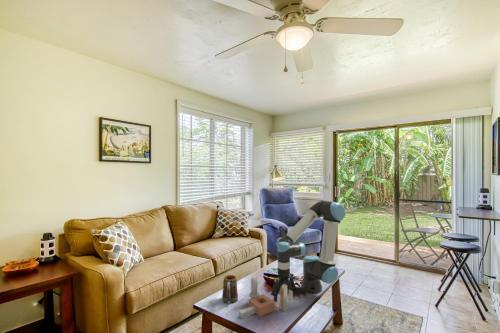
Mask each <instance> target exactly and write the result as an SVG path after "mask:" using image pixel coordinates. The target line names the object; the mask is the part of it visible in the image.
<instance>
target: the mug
mask: <svg viewBox="0 0 500 333" xmlns="http://www.w3.org/2000/svg"><path fill="white" fill-rule="evenodd" d="M222 284H223V285H222V296H221V300H222V302H223V303H225V304H227V305H231V304H235V303H237V301H238V300H239V299H238V298H239V295H238V281H237V277H236V275H234V274H227V275H225V276H224V277H223V281H222Z"/></svg>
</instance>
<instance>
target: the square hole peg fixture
mask: <svg viewBox="0 0 500 333" xmlns="http://www.w3.org/2000/svg"><path fill="white" fill-rule="evenodd" d="M250 281H251V282H250V283H251V284H250V286H251V287H250V290H251V291H250V292H249V297H250V298H249V299H248V307H246V308H243V309H241V310H239V312H238V313H239V314H238V317H239V318H241V319H245V318H247V317H249V316H251V315H254V314H257V315H258V316H259V317H263V316H265V315H267V314H270V313H272V312H274V311H276V310H277V309H276V308H277V307H276V306H275V301H274V299H272V298H270V297H269V296H267V295H265V294H264V293H263V294H260V293H259V292H258V277H257V276H254V277H251V278H250Z"/></svg>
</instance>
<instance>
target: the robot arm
mask: <svg viewBox="0 0 500 333" xmlns="http://www.w3.org/2000/svg"><path fill="white" fill-rule="evenodd" d="M321 217H322V221H323V222H324V225H323V226H324V227H323V235H322V244H321V253H320V256H317V255H307V256H304V257H303V260H302V276H303V277H302V281H301V284H300V289H301V290H302V291H303V292H305V293H308V294H319V293H321V292H322V291H323V285H322V283H326V284H327V285H331V284H333V283H334V282H335V281H336V280H337V279H338V276H339V270H338V268H337V267H336V264H337V263H336V262H335V260H334V259H335V251H336V242H337V233H338V225H340V224H341V221H342V220H344V218H345V217H346V209H345V207H344V206H343V204H342V203H340V202H336V201H329V200H320V201H317V202H316V203H314V204H313V205H312V206H311V207H309V208H308V209H307V213H305V215H304V216H302V217H301V219H299V220H298V222H297V223H296V224H295V225H294V226H293V227H292V228H291V229H290V230H289V231H288V232H287V233H286V234H285V235H284V236H283V237H278V238H277V239H276V242H275V245H276V247H277V249H276V250H277V276H278V277H277V278H276V277H275V278H273V284H272V285H273V286H272V289H271V292H270V295H271V296H273V300H274V301H275V306H276V308H280V295H279V294H280V288H281V286H282V285H283V284H286V285H287V288H288V301H290V302H293V298H294V292H295V289H296V283H295V280H294V275H293V274H292V273H291V272H290V271H291V270H290V268H291V261H290V260H291V258H293V257H297V256H302V255H305V254H306V250H307V248H306V245H305V243H303V242H296V241H297V240H298V239H299V238H300V237H301V236H302V235H303V234H304V232H305V231H307V229H308V228H310V226H311V225H312V224H313V223H314V222H315V221H318V220H319V219H320V218H321ZM321 281H322V282H321Z"/></svg>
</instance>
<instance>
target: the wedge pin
mask: <svg viewBox="0 0 500 333" xmlns="http://www.w3.org/2000/svg"><path fill="white" fill-rule="evenodd" d="M279 310H280V311H281V312H283V313H284V312H287V311H288V285H287V283H284V284H283V285H282V286H281V288H280V291H279Z"/></svg>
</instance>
